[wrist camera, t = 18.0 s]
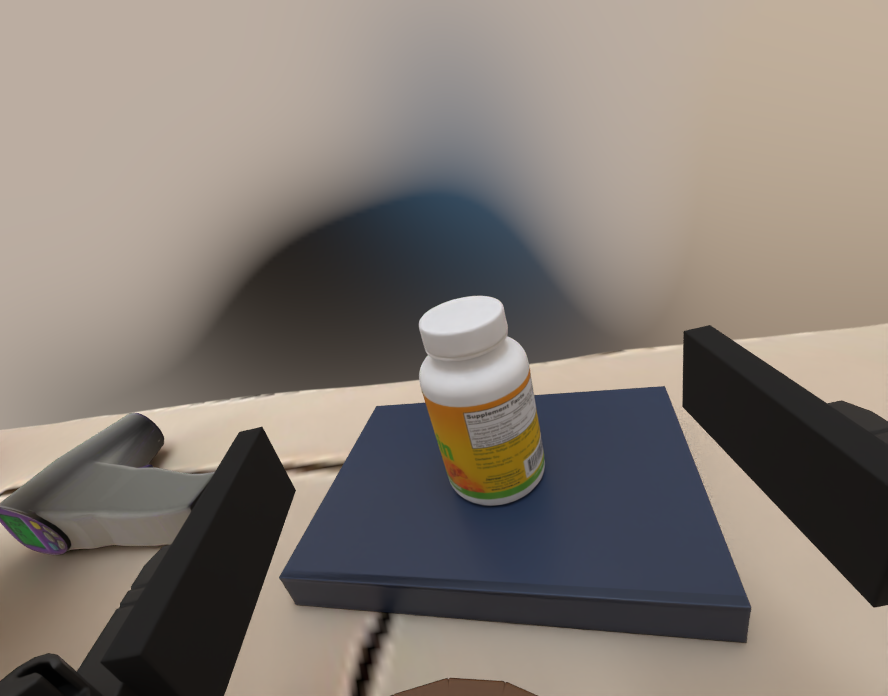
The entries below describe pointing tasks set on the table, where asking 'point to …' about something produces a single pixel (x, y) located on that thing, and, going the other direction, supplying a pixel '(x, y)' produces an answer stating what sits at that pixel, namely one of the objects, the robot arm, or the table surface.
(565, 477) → the book
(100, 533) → the infrared thermometer
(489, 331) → the supplement bottle
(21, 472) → the table surface
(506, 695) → the brown round tray
